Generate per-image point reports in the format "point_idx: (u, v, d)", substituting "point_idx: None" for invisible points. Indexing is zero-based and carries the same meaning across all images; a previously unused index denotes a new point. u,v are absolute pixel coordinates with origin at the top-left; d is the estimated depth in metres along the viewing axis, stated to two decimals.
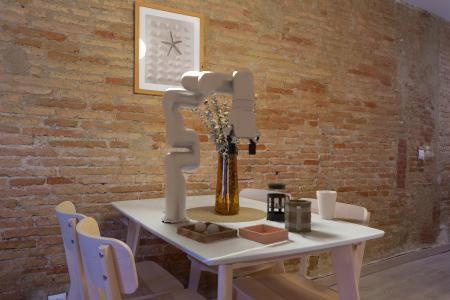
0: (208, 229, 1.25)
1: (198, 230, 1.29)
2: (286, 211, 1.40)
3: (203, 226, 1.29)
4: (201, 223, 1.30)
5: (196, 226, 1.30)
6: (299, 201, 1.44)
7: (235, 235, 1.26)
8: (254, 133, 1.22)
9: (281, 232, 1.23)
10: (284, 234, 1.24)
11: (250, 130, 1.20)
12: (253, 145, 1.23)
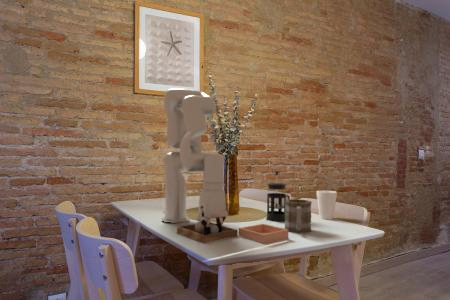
0: None
1: (198, 230, 1.29)
2: (286, 211, 1.40)
3: (203, 226, 1.29)
4: None
5: (196, 226, 1.30)
6: (299, 201, 1.44)
7: (235, 235, 1.26)
8: (224, 212, 1.27)
9: (281, 232, 1.23)
10: (284, 234, 1.24)
11: (220, 210, 1.26)
12: (219, 226, 1.27)
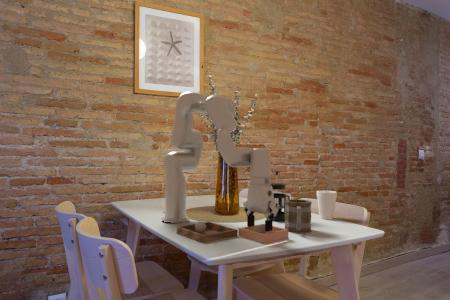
0: None
1: (198, 230, 1.29)
2: (286, 211, 1.40)
3: (203, 226, 1.29)
4: (201, 223, 1.30)
5: (196, 226, 1.30)
6: (299, 201, 1.44)
7: (235, 235, 1.26)
8: (263, 209, 1.21)
9: (281, 232, 1.23)
10: (284, 234, 1.24)
11: (258, 205, 1.23)
12: None
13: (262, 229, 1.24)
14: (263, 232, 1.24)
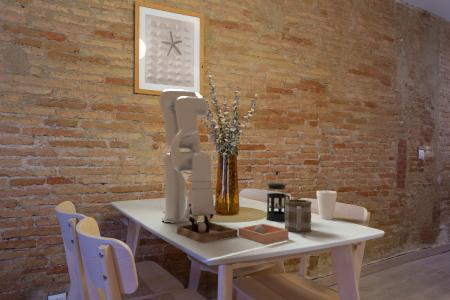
0: None
1: (198, 230, 1.29)
2: (286, 211, 1.40)
3: (203, 226, 1.29)
4: (201, 223, 1.30)
5: None
6: (299, 201, 1.44)
7: (235, 235, 1.26)
8: (212, 209, 1.32)
9: (281, 232, 1.23)
10: (284, 234, 1.24)
11: (207, 208, 1.30)
12: (206, 224, 1.32)
13: (262, 229, 1.24)
14: (263, 232, 1.24)
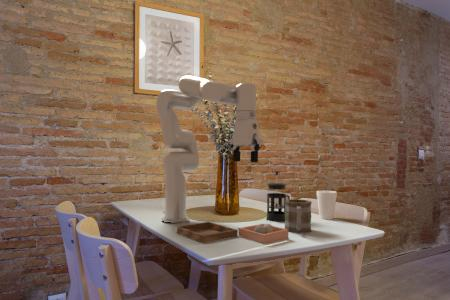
0: None
1: None
2: (286, 211, 1.40)
3: None
4: (265, 225, 1.28)
5: None
6: (299, 201, 1.44)
7: (235, 235, 1.26)
8: (248, 141, 1.24)
9: (281, 232, 1.23)
10: (284, 234, 1.24)
11: (244, 138, 1.26)
12: None
13: (262, 229, 1.24)
14: (263, 232, 1.24)
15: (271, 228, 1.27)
